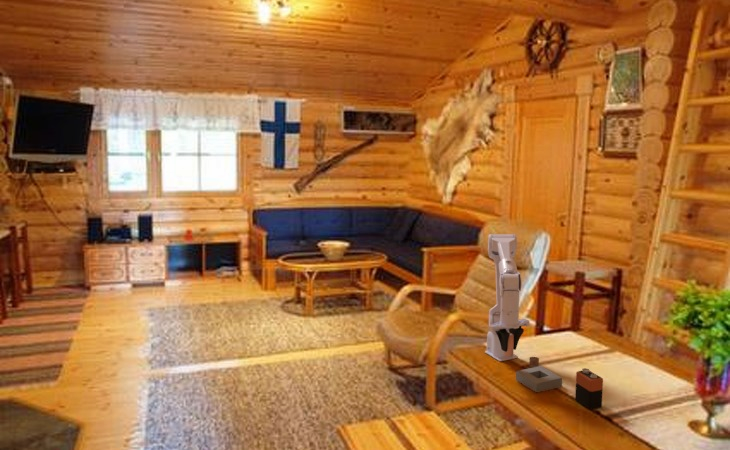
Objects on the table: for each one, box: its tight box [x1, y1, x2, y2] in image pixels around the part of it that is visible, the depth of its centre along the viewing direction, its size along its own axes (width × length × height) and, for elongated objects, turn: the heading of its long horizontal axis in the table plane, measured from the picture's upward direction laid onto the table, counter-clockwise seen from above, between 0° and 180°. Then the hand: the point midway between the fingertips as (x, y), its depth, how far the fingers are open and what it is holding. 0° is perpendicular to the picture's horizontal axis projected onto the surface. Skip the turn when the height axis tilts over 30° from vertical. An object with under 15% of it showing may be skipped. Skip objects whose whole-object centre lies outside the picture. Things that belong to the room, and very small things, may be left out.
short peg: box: [528, 356, 540, 369], centre depth 187 cm, size 3×3×4 cm
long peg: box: [504, 333, 515, 357], centre depth 182 cm, size 3×3×7 cm
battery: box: [574, 367, 604, 411], centre depth 162 cm, size 4×7×10 cm, turn 17°
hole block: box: [515, 365, 563, 393], centre depth 177 cm, size 10×10×3 cm
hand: (508, 349), depth 182 cm, fingers closed on long peg, 3 cm apart
